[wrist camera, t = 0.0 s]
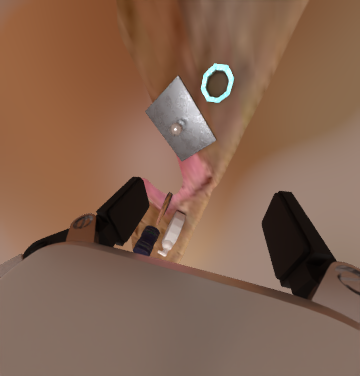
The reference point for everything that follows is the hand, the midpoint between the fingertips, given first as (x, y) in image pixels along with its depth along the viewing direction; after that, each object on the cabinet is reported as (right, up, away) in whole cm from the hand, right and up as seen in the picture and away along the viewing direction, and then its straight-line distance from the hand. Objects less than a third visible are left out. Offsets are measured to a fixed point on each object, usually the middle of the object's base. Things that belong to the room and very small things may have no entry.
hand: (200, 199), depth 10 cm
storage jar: (-19, -26, +74) cm, 81 cm away
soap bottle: (-3, -15, +61) cm, 63 cm away
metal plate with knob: (-1, +21, +33) cm, 39 cm away
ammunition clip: (-7, -5, +55) cm, 55 cm away
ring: (+8, +28, +25) cm, 38 cm away
